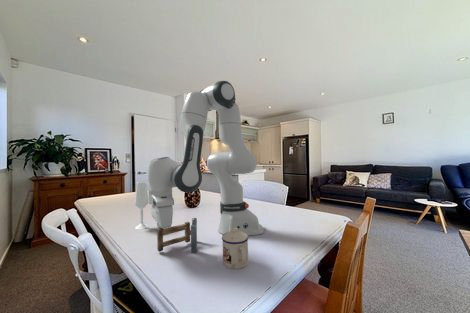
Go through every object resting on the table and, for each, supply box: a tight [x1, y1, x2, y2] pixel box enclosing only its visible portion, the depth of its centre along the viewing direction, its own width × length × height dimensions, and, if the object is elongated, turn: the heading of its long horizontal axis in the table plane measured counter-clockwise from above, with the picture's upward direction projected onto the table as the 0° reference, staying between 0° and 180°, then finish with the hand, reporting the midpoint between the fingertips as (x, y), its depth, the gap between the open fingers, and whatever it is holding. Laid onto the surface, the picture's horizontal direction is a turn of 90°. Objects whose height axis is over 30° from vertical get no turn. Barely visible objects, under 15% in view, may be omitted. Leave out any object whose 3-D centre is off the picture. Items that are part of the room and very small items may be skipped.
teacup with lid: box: [221, 228, 249, 270], centre depth 66 cm, size 12×9×12 cm
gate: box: [156, 221, 191, 252], centre depth 79 cm, size 13×3×8 cm, turn 130°
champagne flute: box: [134, 181, 149, 230], centre depth 105 cm, size 7×7×24 cm
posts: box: [190, 217, 198, 254], centre depth 80 cm, size 3×11×10 cm, turn 4°
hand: (160, 233), depth 78 cm, fingers closed
